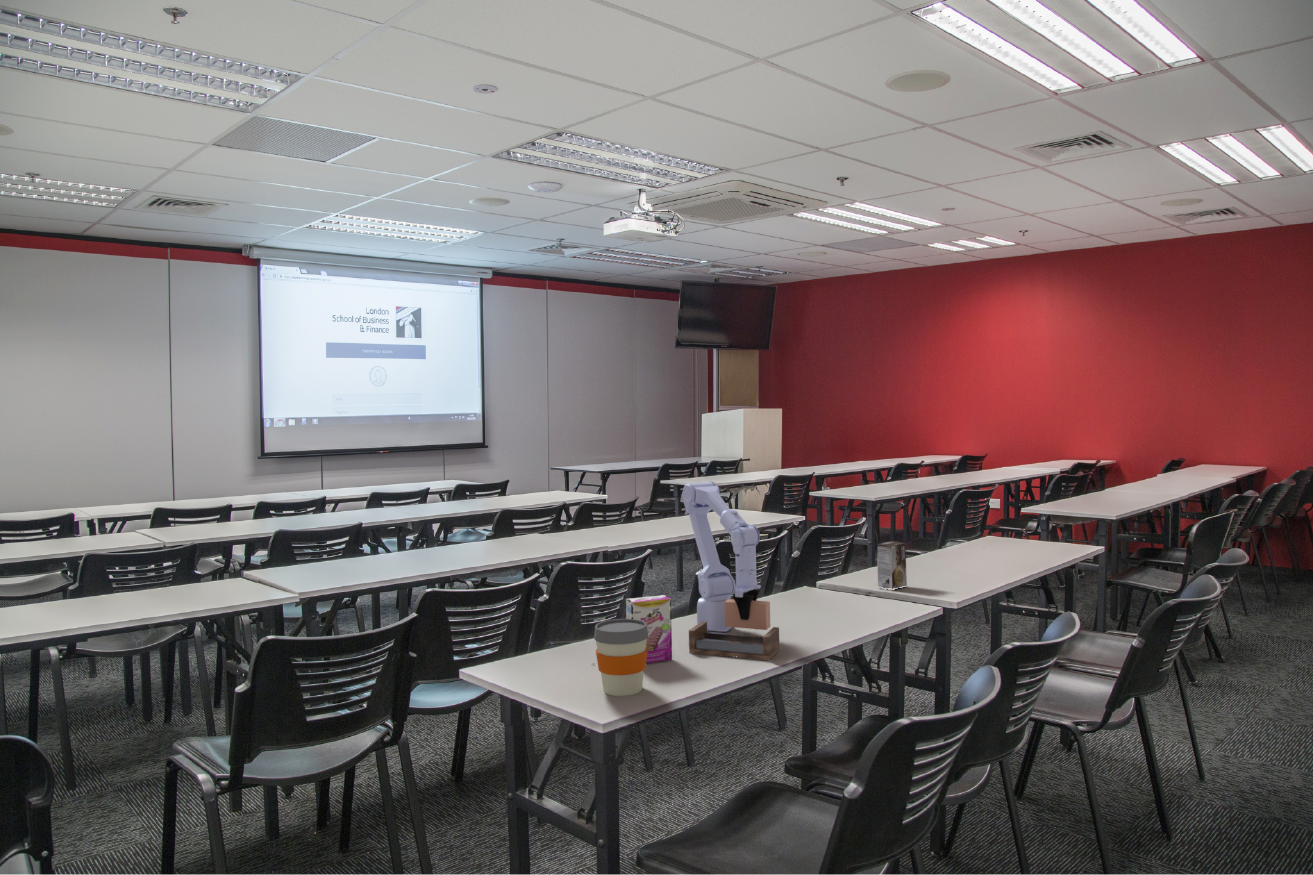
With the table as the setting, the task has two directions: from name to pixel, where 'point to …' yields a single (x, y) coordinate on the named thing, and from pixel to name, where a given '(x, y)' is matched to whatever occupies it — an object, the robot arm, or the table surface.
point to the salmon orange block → (757, 616)
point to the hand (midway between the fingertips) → (747, 617)
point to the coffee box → (891, 564)
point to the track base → (733, 643)
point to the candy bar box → (654, 624)
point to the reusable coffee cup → (621, 655)
